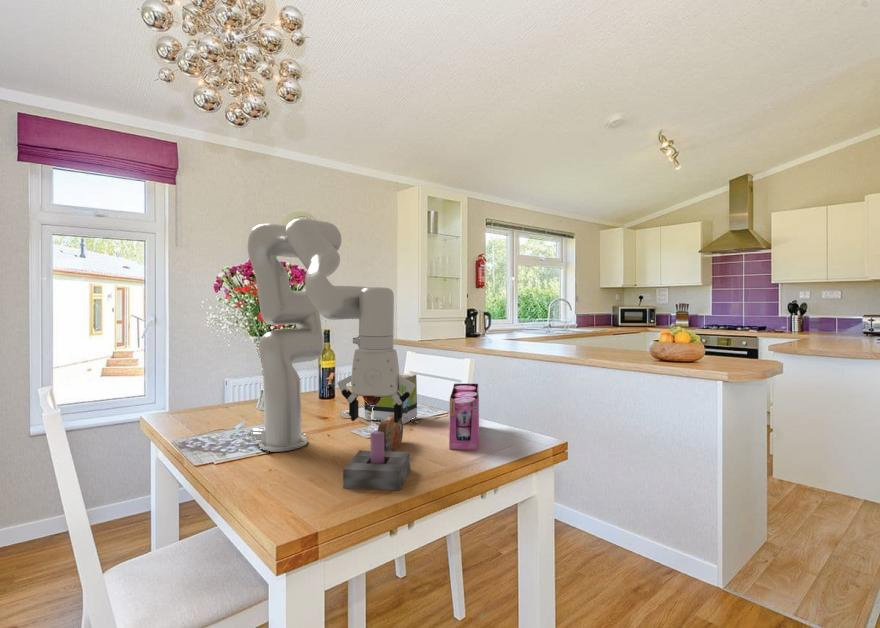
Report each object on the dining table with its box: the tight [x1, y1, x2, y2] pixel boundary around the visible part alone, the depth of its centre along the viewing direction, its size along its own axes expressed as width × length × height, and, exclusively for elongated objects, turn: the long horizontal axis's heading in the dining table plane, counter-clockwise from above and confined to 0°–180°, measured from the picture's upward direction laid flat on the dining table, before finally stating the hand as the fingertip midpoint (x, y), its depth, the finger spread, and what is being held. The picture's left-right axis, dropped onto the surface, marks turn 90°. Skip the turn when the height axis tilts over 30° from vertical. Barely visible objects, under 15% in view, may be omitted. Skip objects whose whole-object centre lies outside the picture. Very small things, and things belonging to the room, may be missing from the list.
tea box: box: [363, 373, 418, 425], centre depth 152 cm, size 15×10×15 cm, turn 66°
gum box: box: [448, 383, 480, 451], centre depth 130 cm, size 24×8×14 cm, turn 175°
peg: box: [370, 431, 384, 464], centre depth 101 cm, size 3×3×10 cm
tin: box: [376, 415, 404, 452], centre depth 121 cm, size 15×3×8 cm, turn 168°
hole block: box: [342, 449, 411, 491], centre depth 101 cm, size 12×12×4 cm
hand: (375, 420), depth 101 cm, fingers open, 9 cm apart
